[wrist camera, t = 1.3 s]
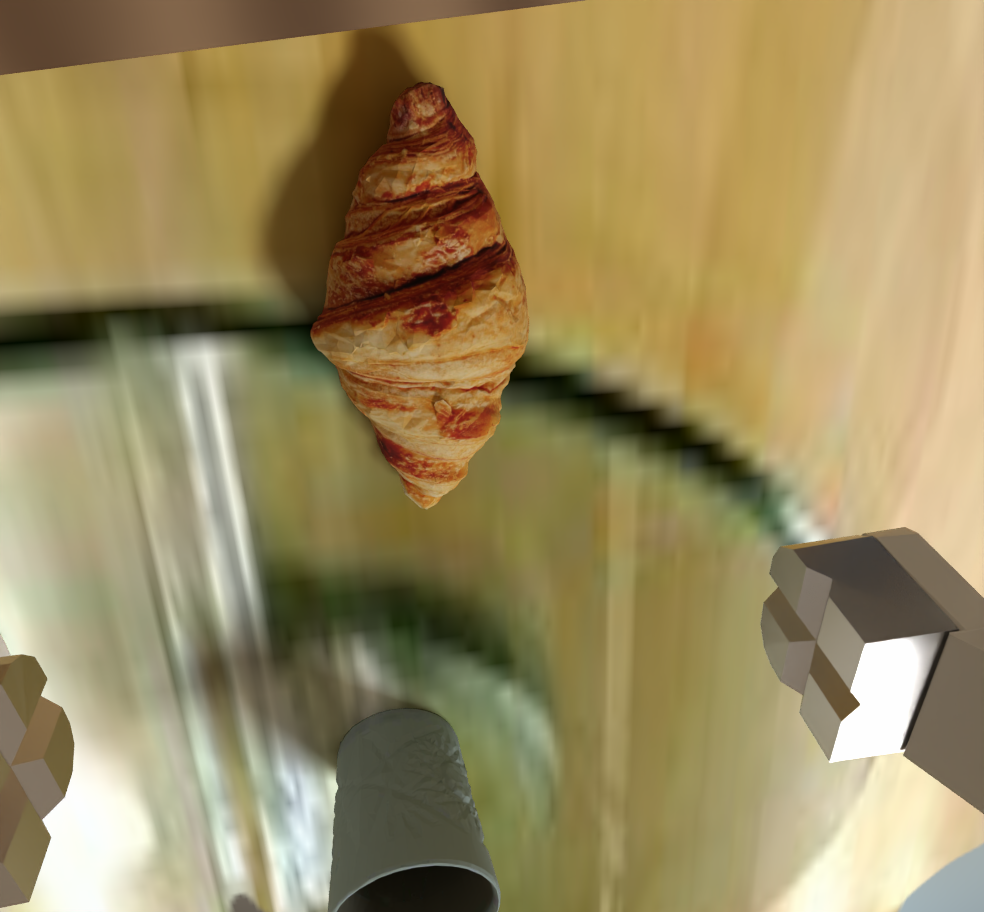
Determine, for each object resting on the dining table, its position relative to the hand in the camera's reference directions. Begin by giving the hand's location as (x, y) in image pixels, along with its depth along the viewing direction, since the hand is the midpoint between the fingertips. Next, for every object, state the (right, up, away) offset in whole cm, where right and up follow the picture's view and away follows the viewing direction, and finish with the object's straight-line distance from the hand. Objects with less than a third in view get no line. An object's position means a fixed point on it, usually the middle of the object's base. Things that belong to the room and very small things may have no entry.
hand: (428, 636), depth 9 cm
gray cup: (-6, -19, +47) cm, 51 cm away
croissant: (-3, +9, +30) cm, 32 cm away
